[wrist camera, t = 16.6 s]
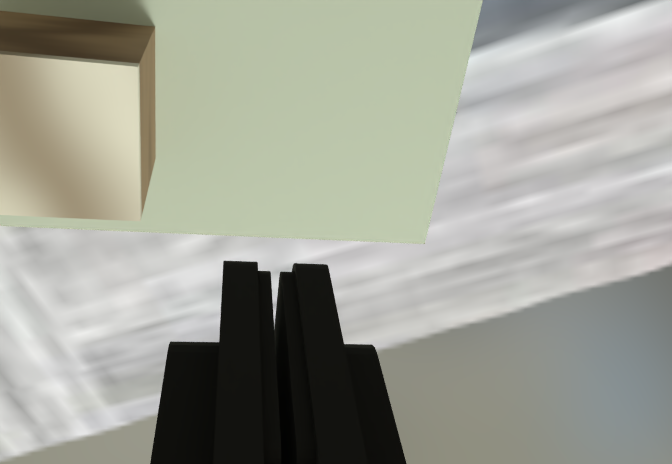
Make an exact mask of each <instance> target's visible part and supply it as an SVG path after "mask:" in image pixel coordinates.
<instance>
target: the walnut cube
mask: <svg viewBox="0 0 672 464" xmlns="http://www.w3.org/2000/svg"><path fill="white" fill-rule="evenodd" d="M155 159H156V121H155V27H153V26H144V25H134V24H124V23H115V22H105V21H95V20H86V19H76V18H66V17H57V16H47V15H37V14H28V13H18V12H9V11H0V215H12V216H34V217H56V218H78V219H100V220H122V221H141V217H142V213H143V209H144V205H145V201H146V197H147V192H148V188H149V184H150V180H151V176H152V171H153V167H154V163H155Z"/></svg>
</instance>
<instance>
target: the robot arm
mask: <svg viewBox="0 0 672 464" xmlns="http://www.w3.org/2000/svg"><path fill="white" fill-rule="evenodd" d="M150 464H406V461H405V457H404V453H403V449H402V445H401V442H400V438H399V434H398V431H397V427H396V423H395V419H394V415H393V412H392V408H391V404H390V401H389V396H388V393H387V389H386V385H385V382H384V378H383V374H382V370H381V366H380V363H379V359H378V355H377V352H376V350H375V347H374V346H373V345H357V344H344V342H343V337H342V332H341V328H340V323H339V318H338V313H337V308H336V303H335V298H334V293H333V288H332V283H331V278H330V273H329V269H328V265H324V264H297V263H294V265H293V268H292V272H280V277H279V287H278V298H277V308H276V318H275V329H274V320H273V304H272V288H271V273H270V271H258V263H257V262H242V261H224V264H223V283H222V302H221V321H220V341H219V342H170V344H169V348H168V353H167V360H166V366H165V372H164V379H163V385H162V392H161V398H160V405H159V411H158V417H157V424H156V430H155V437H154V443H153V450H152V456H151V463H150Z"/></svg>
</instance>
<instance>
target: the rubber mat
mask: <svg viewBox="0 0 672 464" xmlns="http://www.w3.org/2000/svg"><path fill="white" fill-rule="evenodd" d="M482 1H483V0H0V11H9V12H18V13H28V14H37V15H47V16H57V17H66V18H76V19H86V20H95V21H105V22H115V23H124V24H134V25H144V26H153V27H155V121H156V159H155V163H154V167H153V171H152V176H151V180H150V184H149V188H148V192H147V197H146V201H145V205H144V209H143V213H142V217H141V221H122V220H100V219H78V218H56V217H34V216H12V215H0V226H13V227H37V228H61V229H84V230H108V231H131V232H155V233H178V234H202V235H225V236H249V237H272V238H296V239H319V240H343V241H366V242H390V243H413V244H425V240H426V236H427V232H428V228H429V224H430V219H431V215H432V211H433V207H434V203H435V198H436V194H437V190H438V186H439V182H440V177H441V173H442V169H443V165H444V161H445V156H446V152H447V148H448V144H449V140H450V135H451V131H452V127H453V123H454V119H455V114H456V110H457V106H458V102H459V98H460V93H461V89H462V85H463V81H464V77H465V73H466V68H467V64H468V60H469V56H470V52H471V47H472V43H473V39H474V35H475V31H476V26H477V22H478V18H479V14H480V10H481V5H482Z"/></svg>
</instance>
